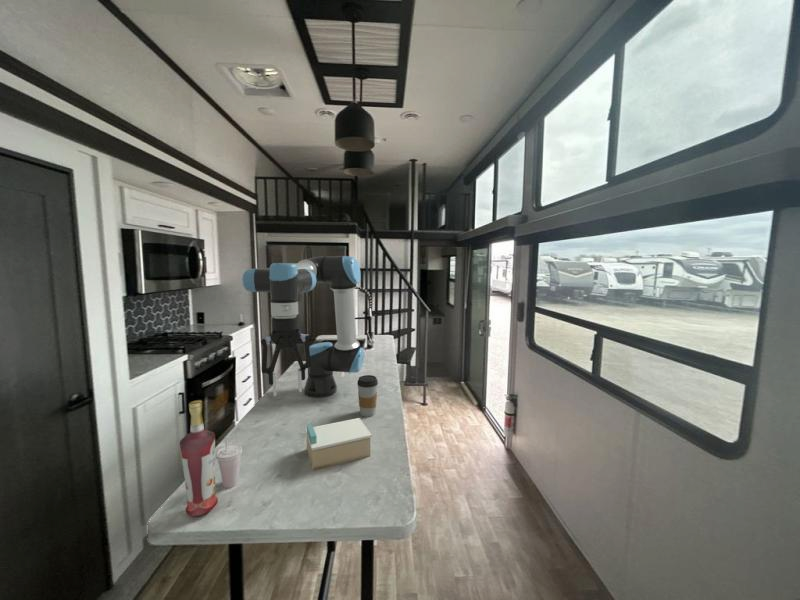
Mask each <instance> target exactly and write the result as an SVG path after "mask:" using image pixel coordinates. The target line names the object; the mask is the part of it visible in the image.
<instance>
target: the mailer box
mask: <svg viewBox="0 0 800 600" xmlns="http://www.w3.org/2000/svg"><path fill="white" fill-rule="evenodd" d="M305 437H306V451H307V454H308V458H309V461H310V464H311V468H312V470H313V471H316V470H320V469H325V468H328V467H333V466H335V465H340V464H344V463H349V462H352V461H356V460H360V459H363V458H367V457H371V438H367V439H362V440H358V441H353V442H349V443H345V444H340V445H336V446H332V447H327V448H323V449H318V450H314V451H312V450H311V447H310V444H309V441H308V438H307V435H306V436H305Z"/></svg>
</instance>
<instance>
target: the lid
mask: <svg viewBox="0 0 800 600" xmlns="http://www.w3.org/2000/svg"><path fill="white" fill-rule="evenodd" d="M304 429H305V430H304V431H305V434H306V435H307V437H306V439H307V438H308V441H309V444H310V447H311V450H312V451H314V450H318V449H323V448H327V447H332V446H336V445H340V444H345V443H349V442H353V441H358V440H362V439H367V438H370V439H371V438H372V436H373V435H372V434H371V432H370V430H369V429H368V428H367V426H366V425H365V424H364V422H363V421H362V420H361V417H358V418H352V419H347V420H342V421H337V422H332V423H327V424H322V425H321V424H320V425H317V426H313V424H312V423H310V424H306V428H304Z"/></svg>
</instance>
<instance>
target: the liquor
mask: <svg viewBox="0 0 800 600" xmlns="http://www.w3.org/2000/svg"><path fill="white" fill-rule="evenodd" d="M188 410H189V414H190V424H189V425H190V426H189V427H190V429H189V431H190V432H189V433H187V434H186V435H185V436H184V437H182V439H181V440H180V441H179V448H180V457H181V465H182V471H183V477H184V482H185V483H184V484H185V492H186V493H185V494H186V503H187V506H186V509H185V513H186V514H187V515H188V516H192V517H202V516H205V515H206V514H207V515H208V514H209V512H211V511H212V510H213V509H214V508H215V507H216V506H217V504H218V502H219V499H218V497H217V495H216V434H215V432H213V431H211V430H208V429H205V427H204V420H203V415H202V412H203V401H202V400H201V399H198V400H193V401H190V402H189V403H188Z"/></svg>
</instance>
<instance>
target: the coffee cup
mask: <svg viewBox="0 0 800 600" xmlns="http://www.w3.org/2000/svg"><path fill="white" fill-rule="evenodd" d="M378 384H379V382H378V378H377V376H375V375H372V374H370V375H369V374H367V375H366V374H365V375H360V376H359V377H358V379H357V390H358V392H357V393H358V407H359V414H360V415H361V416H362V417H366V418H369V417H373V416H374V415H375V414H376V409H377V398H378V397H377V396H378V395H377V394H378Z"/></svg>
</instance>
